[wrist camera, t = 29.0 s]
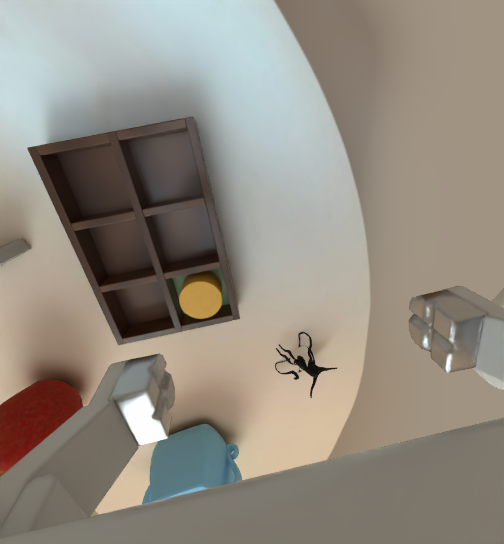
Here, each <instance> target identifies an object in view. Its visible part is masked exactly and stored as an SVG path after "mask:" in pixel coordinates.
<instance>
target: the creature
mask: <svg viewBox="0 0 504 544" xmlns="http://www.w3.org/2000/svg"><path fill="white" fill-rule="evenodd" d="M302 333H305V332H301V333H299V335H300V334H302ZM305 334H306V335H308V334H307V333H305ZM299 335H298V336H299ZM308 336H309V335H308ZM309 339H310V347H309V348H308V355H309V357H310V359H309V362H308V367H307V365H306V362H305V360H304V358H303V357H302V356H298V357H297V358H298V359H295V358H294V356H293V355H292V353H291V351H290V350H285V349H283V348H282V347H281V346H280V345H279V346H280V347H281V348H282V349H283V350H284V351H285V352H288V353H289V355H290V356H291V357H292V358H293V359H294V364H295V363H296V364H295V365H298V366H299V372H301V371H300V368H301V369H303V370H305V371H306V372H307V373H308V374H309V375H310V376H312V377H314V379H313V384H312V387H311V392H310V397H311V398H312V390H313V388H314V386H315V383H316V380H317V377H318V375H319V374H320V373H321V372H323V371H327V370H331V369H337V368H324V367H318V366H316V365H315V360H314V356H313V353H312V351H311V347H312V340H311V337H310V336H309ZM299 342H300V337H299ZM300 346H301V345H300V343H299V347H300ZM299 347H298V348H299ZM276 350H277V351H278V352H279V350H278V349H277V348H276ZM310 353H311V354H310ZM279 354H280V355H281V356H282V357H285V359H286V361H288V362H289V363H290V364H292V365H293V363H291V361H290V358H289V359H288V357H287V356H286V355H283V354H281V353H280V352H279ZM311 355H312V357H313V360H312V357H311ZM282 362H285V361H282ZM277 363H280V362H277ZM277 363H276V364H277ZM276 364H275V368H276ZM276 370H277V369H276ZM277 371H278V370H277ZM278 372H279V371H278ZM279 373H280V372H279ZM291 373H292V374H294V375H295V376H296V377H295V378H294V379H295V380H297V379H299V376H298V374H297V373H296V372H294V371H290V372H287V373H281V374H291Z"/></svg>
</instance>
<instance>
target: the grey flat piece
mask: <svg viewBox="0 0 504 544" xmlns="http://www.w3.org/2000/svg"><path fill="white" fill-rule="evenodd" d="M29 249H31V247H30V246H29V245H28V244H27V243H26V242H25V241H24V240H23V239H19V240H17V241H14V242H12V243H10V244H7V245H5V246H3V247H0V266H1V265H3V264H4V263H6V262H8V261H10V260H11V259H13V258H15V257H17V256H19V255H20V254H22V253H24V252H26V251H28V250H29Z"/></svg>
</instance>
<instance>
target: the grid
mask: <svg viewBox="0 0 504 544" xmlns="http://www.w3.org/2000/svg"><path fill="white" fill-rule="evenodd" d="M27 149H28V151H29V153H30V155H31V157H32V159H33V162H34V164H35V166H36V168H37V170H38V172H39V175H40V177H41V179H42V181H43V183H44V185H45V188H46V190H47V192H48V194H49V196H50V198H51V201H52V203H53V205H54V207H55V209H56V211H57V214H58V216H59V218H60V220H61V222H62V224H63V227H64V229H65V231H66V233H67V235H68V237H69V239H70V242H71V244H72V246H73V248H74V250H75V252H76V255H77V257H78V259H79V261H80V263H81V265H82V268H83V270H84V272H85V274H86V276H87V278H88V281H89V283H90V285H91V287H92V289H93V291H94V294H95V296H96V298H97V300H98V302H99V304H100V307H101V309H102V311H103V313H104V315H105V317H106V320H107V322H108V324H109V326H110V328H111V330H112V333H113V335H114V337H115V339H116V341H117V343H118V345H122V344H126V343H131V342H136V341H140V340H145V339H150V338H154V337H159V336H163V335H168V334H173V333H177V332H182V331H186V330H191V329H195V328H200V327H205V326H209V325H214V324H219V323H223V322H228V321H232V320H237V319H240V316H239V309H238V303H237V299H236V294H235V290H234V286H233V281H232V277H231V272H230V268H229V264H228V259H227V255H226V251H225V246H224V242H223V237H222V233H221V229H220V224H219V220H218V216H217V211H216V207H215V202H214V198H213V194H212V189H211V185H210V181H209V176H208V172H207V167H206V163H205V159H204V154H203V150H202V146H201V141H200V137H199V132H198V128H197V124H196V121H195V119H194V117H188V118H183V119H178V120H172V121H167V122H162V123H156V124H151V125H146V126H140V127H135V128H130V129H125V130H119V131H114V132H108V133H103V134H98V135H92V136H87V137H82V138H76V139H71V140H66V141H61V142H55V143H50V144H45V145H39V146H34V147H29V148H27ZM202 271H209V272H211V273H213V274H215V275H216V276H217V277H218V278H219V280H220V282H221V285H222V305H221V307H220V309H219V311H218V312H217V313H216V314H214V315H213V316H211V317H208V318H204V319H198V318H193V317H191V316H189V315H187V314H186V313H185V312H184V311H183V310H182V308H181V306H180V303H179V297H180V293H181V289H182V285H183V282H184V280H185V278H186V277H187V276H188V275H189V274H193V273H198V272H202Z"/></svg>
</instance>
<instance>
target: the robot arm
mask: <svg viewBox="0 0 504 544" xmlns="http://www.w3.org/2000/svg"><path fill="white" fill-rule="evenodd" d="M409 308H410V310H411V311H412V312H413V313H414V314H413V315H412V317H411V318H410V319H409V331H410V334H411V337H412V339H413V340H414V342H415V343H416V344H417V345H418V346H419V347H420V348H421V349H424V350H427V351H429V352H431V358H432V359H433V360H434V361H435V362H436V363H437V364H438V365H439V366H440V367H441V368H442V369H444V371H445V372H446V373H450V372H455V371H459V370H465V369H469V368H475V367H476V369H477V370H479V371H481V372H484V373H486V374H488V375H490V376H492V377H495V378H497V379H499V380H501V381H503V382H504V308H503V307H501V306H499V305H497V304H495V303H494V302H492V301H490V300H488V299H486V298H484V297H482V296H480V295H478V294H476V293H475V292H473V291H471V290H469V289H467V288H465V287H462V286H456V287H452V288H448V289H444V290H442V291H438V292H434V293H429V294H425V295H421V296H416V297H412V299H411V301H410V307H409ZM165 368H166V361H165V359H164V357H163V355H161V354H155V355H151V356H146V357H141V358H136V359H131V360H126V361H121V362H117V363H113V364H111V365H110V366H109V367H108V369H107V371H106V373H105V375H104V377H103V379H102V381H101V383H100V384H99V386H98V388H97V390H96V392H95V394H94V396H93V398H92V400H91V401H90V403H89V405H88V406H85V407H82V408H81V409H80V410H79V411H77V412H76V413H75V414H74V415H73V416H72V417H70V418H69V419H68V420H67V421H66V422H65V423H63V424H62V425H61V426H60V427H59V428H57V429H56V430H55V431H54V432H53V433H52V434H50V435H49V436H48V437H47V438H46V439H44V440H43V441H42V442H41V443H40V444H39V445H37V446H36V447H35V448H34V449H33V450H31V451H30V452H29V453H28V454H27V455H26V456H24V457H23V458H22V459H21V460H20V461H18V462H17V463H16V464H15V465H14V466H13V467H11V468H10V469H9V470H8V471H7V472H6V473H4V474H3V475H2V476H1V477H0V544H504V418H500V419H497V420H492V421H488V422H484V423H480V424H475V425H472V426H467V427H463V428H459V429H455V430H450V431H446V432H442V433H438V434H434V435H430V436H426V437H421V438H417V439H413V440H409V441H405V442H400V443H396V444H392V445H388V446H384V447H380V448H376V449H371V450H367V451H363V452H359V453H354V454H350V455H346V456H342V457H338V458H334V459H329V460H325V461H321V462H317V463H313V464H309V465H304V466H300V467H296V468H292V469H288V470H283V471H279V472H275V473H271V474H267V475H263V476H258V477H254V478H250V479H246V480H242V481H238V482H233V483H229V484H225V485H221V486H217V487H213V488H208V489H204V490H200V491H196V492H192V493H188V494H183V495H179V496H175V497H171V498H167V499H163V500H158V501H154V502H150V503H146V504H142V505H138V506H133V507H129V508H125V509H121V510H117V511H113V512H108V513H104V514H100V515H96V516H92V517H90V516H91V515H92V513H93V512H94V510H95V509H96V507H97V506H98V505H99V503H100V502H101V500H102V499H103V497H104V496H105V495H106V493H107V492H108V490H109V489H110V488H111V486H112V485H113V483H114V482H115V480H116V479H117V478H118V476H119V475H120V473H121V472H122V470H123V469H124V468H125V466H126V465H127V463H128V462H129V461H130V459H131V458H132V456H133V455H134V453H135V452H136V451H137V449H138V446H140V445H144V444H148V443H152V442H156V441H159V440H163V439H167V438H168V434H169V428H170V423H171V416H170V413H169V410H170V409H171V408H172V407H173V405H174V400H175V387H174V382H173V379H172V376H171V374H169V373H168V372H166V371H165Z"/></svg>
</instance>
